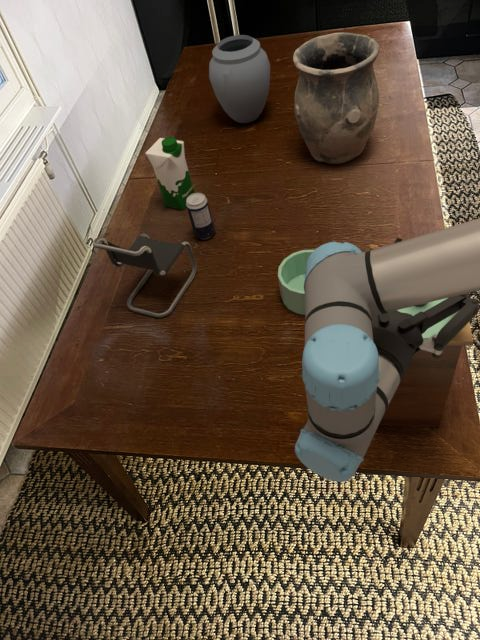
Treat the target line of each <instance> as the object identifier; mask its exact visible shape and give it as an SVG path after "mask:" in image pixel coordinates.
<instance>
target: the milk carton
mask: <svg viewBox="0 0 480 640" xmlns="http://www.w3.org/2000/svg"><path fill="white" fill-rule="evenodd" d="M145 156H146V157H147V159H148V161H149V162H150V164H151V165H152V168H153V171H154V174H155V177H156V180H157V183H158V187H159V190H160V194H161V198H162V203H163V206H164V207H168V208H172V209H175V210H176V209H178V210H180V211H181V210H182V211H186V210H187V207H186V200H187V197H188V196H189V195H191V194H193V193H196V189H195V188H194V185H193V182H192V178H191V175H190V171H189V167H188V163H187V160H186V157H185V156H186V155H185V142H184V141H183V140H178V139H177V138H176V137H174V136H168V137H159V138H158V139H157V140H156V141H155V142H154V143H153V144H152V145H151V147H150V148H149V149H147V151H146V152H145Z"/></svg>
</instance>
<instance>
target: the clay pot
mask: <svg viewBox="0 0 480 640" xmlns="http://www.w3.org/2000/svg"><path fill="white" fill-rule="evenodd" d="M379 53H380V46H379V43H378V41H376V40H375V39H374V38H373V37H371V36H368V35H366V34H361V33H360V34H359V33H354V32H343V31H342V32H341V31H340V32H333V33H329V34H323V35H319V36H316V37H314V38H311V39H309V40H308V41H305V42H304V43H303V44H302V45H300V46H299V47H298V48H296V49H295V51H294V52H293V56H292V60H293V63H294V66H295V67H296V69H297V70H298V72H299V76H298V81H297V83H296V87H295V92H294V115H295V120H296V124H297V127H298V130H299V132H300V135H301V137H302V139H303V141H304V143H305V145H306V147H307V149H308V150H309V152H310V155H311V156H312V157H313V159H314V160H315V161H317V162H320V163H325V164H327V165H342V164H344V163H345V164H346V163H348V162H350V161H352V160H354V159H355V158H357V157H358V156H360V155H361V154H362V153H363V151H364V149H365V147H366V145H367V142H368V140H369V139H370V137H371V135H372V133H373V130H374V128H375V124H376V120H377V117H378V112H379V111H378V110H379V103H380V91H379V84H378V81H377V77H376V74H375V70H374V69H375V68H374V63H375V61H376V60H377V58H378V57H379Z"/></svg>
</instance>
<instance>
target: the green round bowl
mask: <svg viewBox="0 0 480 640" xmlns="http://www.w3.org/2000/svg"><path fill="white" fill-rule="evenodd" d="M314 250H315V249H302V250H298V251H296V252H291V254H289V255H288V256H287V257H285V258H284V259H283V260H282V262H281V263H280V265H279V266H278V271H277V280H278V285H279V286H278V287H279V293H280V298H281V301H282V303H283V305H284V306H285V307H286V308H287V309H288V310H289V311H291V312H293V313H295V314H297V315H302V316H305V292H304V281H305V273H306V265H307V261H308V258H309V256H310V255H311V254H312V252H313V251H314Z"/></svg>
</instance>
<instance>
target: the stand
mask: <svg viewBox="0 0 480 640" xmlns="http://www.w3.org/2000/svg"><path fill="white" fill-rule="evenodd" d="M470 322H471V321H469V322H468V323H467V325H466V326H465V327H464V328H463V329H462V330H461V331H460V332H459V333H458V334H457V335H456V336H455V337H454V338H453V339H452V340H451V341H450V342H449V343H448V344H447V345H446V346H445V348H444V351H443V354H442V356H441V358H434V357H433V355H432V352H428V351H425V350H420V351H418V352H416V353H415V354H414V355H413V357H412V359H411V361H410V363H409V365H408V367H407V369H406V372H405V374H404V376H403V377H402V379H401V380H400V383H399V386H398V388H397V390H396V392H395V393H394V395H393V397H392V399H391V401H390V403H389V405H388V407H387V409H386V411H385V413H384V415H383V417H382V419H381V421H380V423H379V425H378V426H392V427H393V426H394V427H395V426H396V427H426V428H428V427H429V428H440V426H441V422H442V418H443V415H444V411H445V408H446V404H447V401H448V397H449V394H450V390H451V388H452V387H451V386H452V383H453V379H454V376H455V373H456V370H457V366H458V362H459V358H460V355H461V352H462V348H463V346H473V344H474V339H473V333H472V328H471V323H470Z"/></svg>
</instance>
